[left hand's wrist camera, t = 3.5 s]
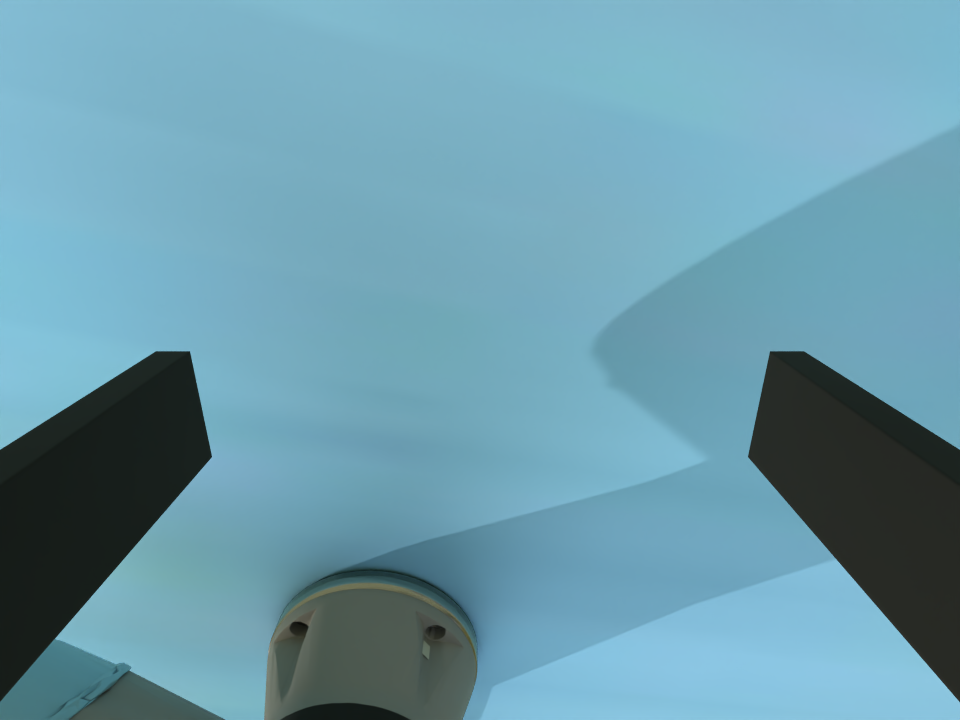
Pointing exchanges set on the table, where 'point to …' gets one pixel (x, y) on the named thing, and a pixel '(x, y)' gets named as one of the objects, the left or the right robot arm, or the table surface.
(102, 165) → the table surface
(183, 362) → the left robot arm
